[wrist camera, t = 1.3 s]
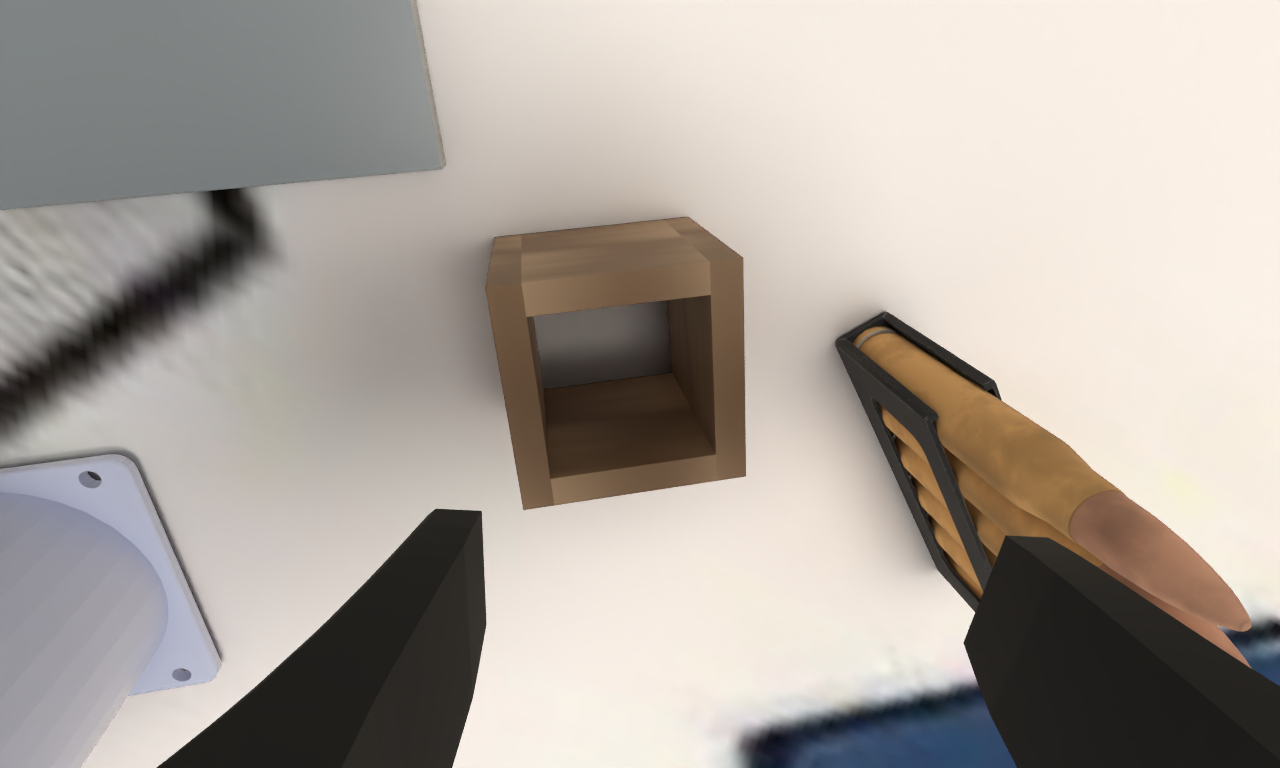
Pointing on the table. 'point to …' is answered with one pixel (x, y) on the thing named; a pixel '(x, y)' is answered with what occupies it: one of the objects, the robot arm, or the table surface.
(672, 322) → the walnut frame
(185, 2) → the gray peg stand
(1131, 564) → the ammunition clip
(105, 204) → the table surface
